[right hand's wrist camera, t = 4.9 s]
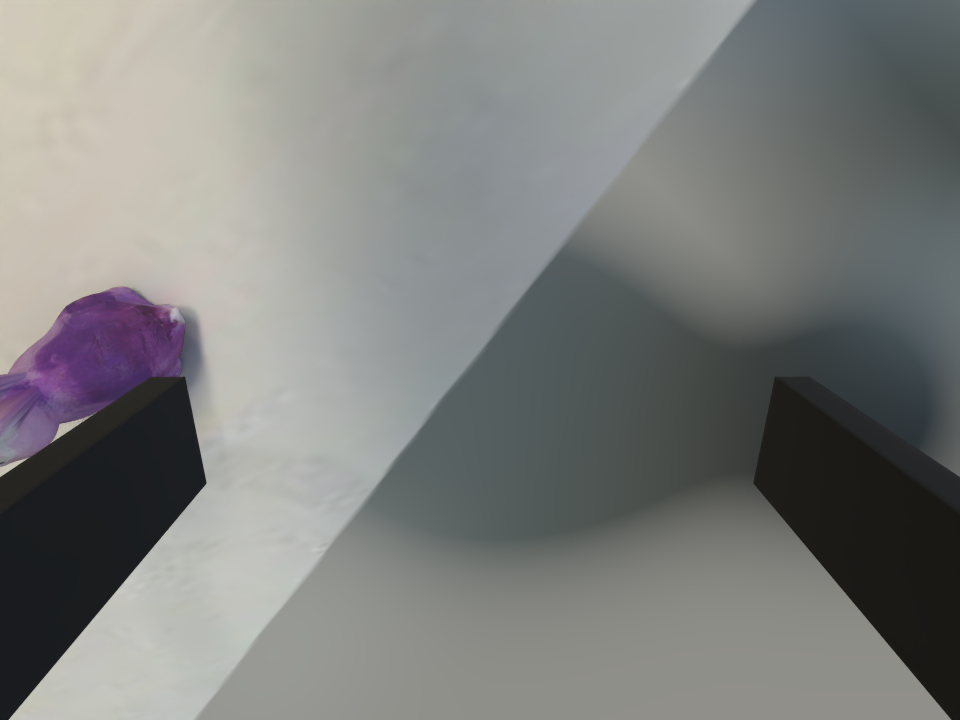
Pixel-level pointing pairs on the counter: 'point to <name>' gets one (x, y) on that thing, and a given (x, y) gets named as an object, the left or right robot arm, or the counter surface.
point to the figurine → (86, 366)
